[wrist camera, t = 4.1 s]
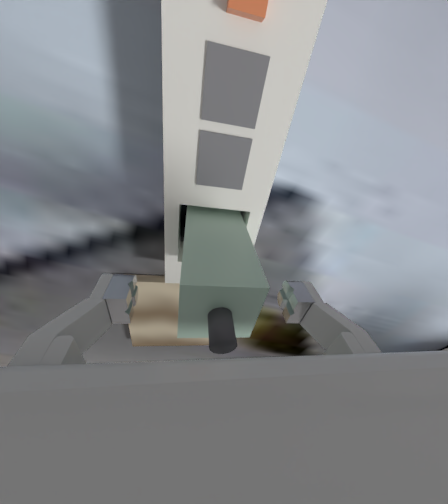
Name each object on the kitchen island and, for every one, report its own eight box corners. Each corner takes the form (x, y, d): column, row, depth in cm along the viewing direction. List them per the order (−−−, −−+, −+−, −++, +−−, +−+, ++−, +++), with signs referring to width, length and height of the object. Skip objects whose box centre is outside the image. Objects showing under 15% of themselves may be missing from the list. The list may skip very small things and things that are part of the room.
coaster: (221, 338, 30) (222, 344, 29) (134, 339, 27) (132, 346, 27) (237, 279, 23) (239, 285, 22) (123, 273, 20) (120, 281, 20)
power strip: (237, 265, 21) (243, 290, 19) (168, 261, 20) (164, 288, 17) (317, -49, 10) (367, -110, 7) (169, -103, 9) (155, -206, 6)
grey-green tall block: (227, 240, 19) (255, 366, 10) (185, 237, 19) (174, 370, 9) (236, 201, 17) (281, 318, 8) (188, 195, 16) (176, 317, 7)
